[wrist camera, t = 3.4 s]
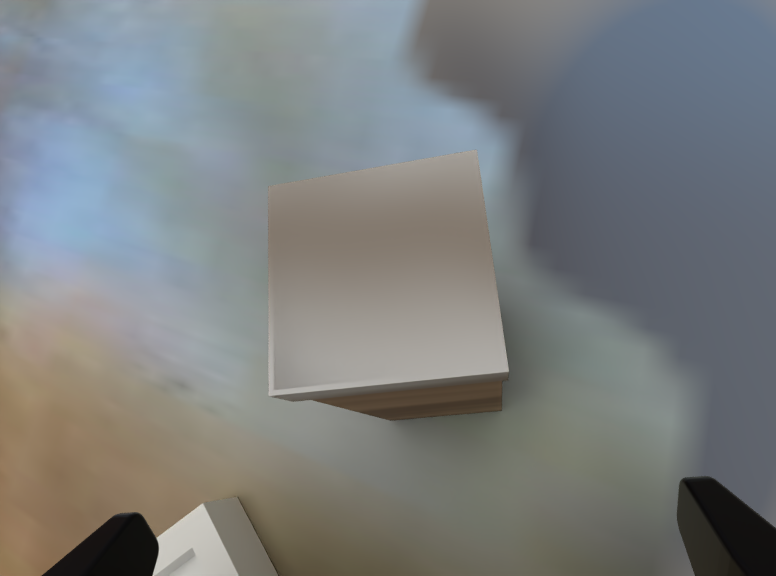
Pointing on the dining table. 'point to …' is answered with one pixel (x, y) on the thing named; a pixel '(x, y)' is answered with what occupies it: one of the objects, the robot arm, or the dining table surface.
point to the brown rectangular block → (386, 291)
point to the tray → (213, 544)
